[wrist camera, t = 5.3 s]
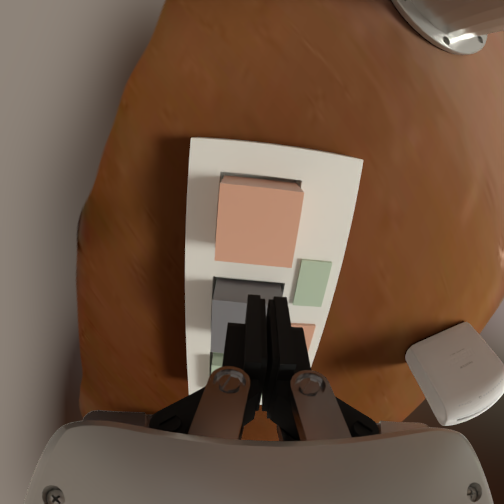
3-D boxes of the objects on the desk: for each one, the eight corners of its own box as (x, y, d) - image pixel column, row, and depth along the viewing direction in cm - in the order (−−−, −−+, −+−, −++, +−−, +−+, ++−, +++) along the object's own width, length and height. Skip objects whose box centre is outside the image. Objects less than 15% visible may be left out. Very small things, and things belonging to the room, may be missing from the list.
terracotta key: (224, 175, 19) (219, 183, 17) (296, 183, 20) (304, 192, 17) (219, 242, 21) (214, 260, 19) (286, 248, 22) (291, 268, 19)
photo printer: (469, 315, 28) (520, 377, 17) (464, 339, 30) (508, 400, 19) (405, 343, 29) (448, 422, 18) (402, 365, 31) (439, 440, 20)
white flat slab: (198, 136, 21) (189, 137, 18) (349, 156, 21) (364, 160, 18) (193, 379, 31) (188, 400, 28) (294, 386, 32) (297, 407, 29)
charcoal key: (217, 277, 23) (212, 299, 20) (280, 283, 23) (284, 306, 20) (214, 327, 25) (210, 351, 22) (271, 332, 25) (273, 356, 22)
